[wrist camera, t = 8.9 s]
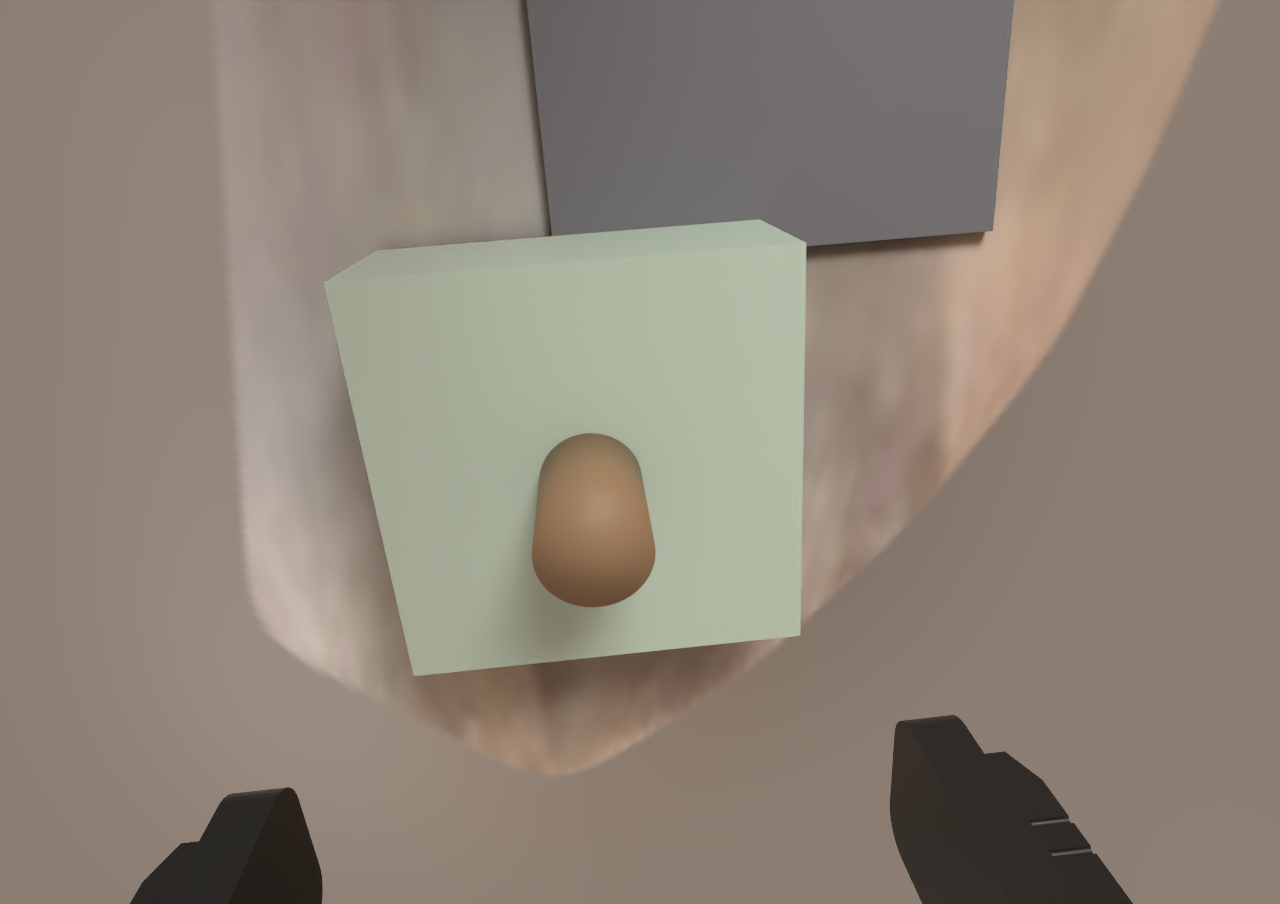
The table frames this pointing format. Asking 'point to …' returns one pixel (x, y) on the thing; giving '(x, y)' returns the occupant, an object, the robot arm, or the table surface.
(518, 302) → the cover
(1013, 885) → the robot arm
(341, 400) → the table surface
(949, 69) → the mat
